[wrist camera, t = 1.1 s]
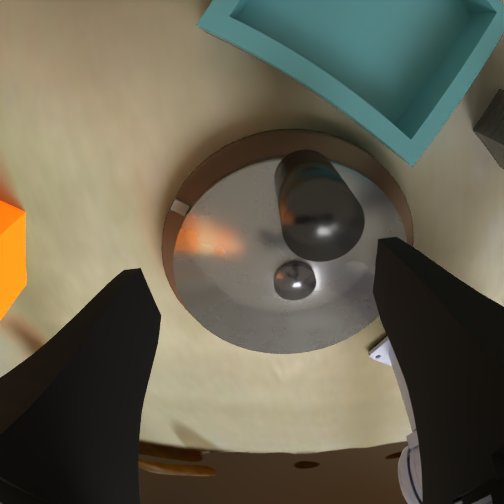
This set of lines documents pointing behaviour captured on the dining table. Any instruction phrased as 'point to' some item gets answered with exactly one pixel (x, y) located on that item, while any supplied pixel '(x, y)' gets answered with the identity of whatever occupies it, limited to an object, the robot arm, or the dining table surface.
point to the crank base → (265, 147)
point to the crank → (284, 253)
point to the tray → (371, 56)
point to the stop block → (493, 128)
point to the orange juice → (11, 255)
